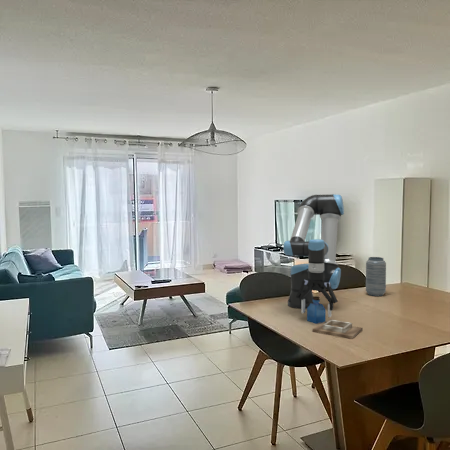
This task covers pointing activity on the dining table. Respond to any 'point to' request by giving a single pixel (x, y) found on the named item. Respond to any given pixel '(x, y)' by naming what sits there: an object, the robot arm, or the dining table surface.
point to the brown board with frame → (338, 329)
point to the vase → (375, 276)
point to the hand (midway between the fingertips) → (316, 314)
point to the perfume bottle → (316, 311)
